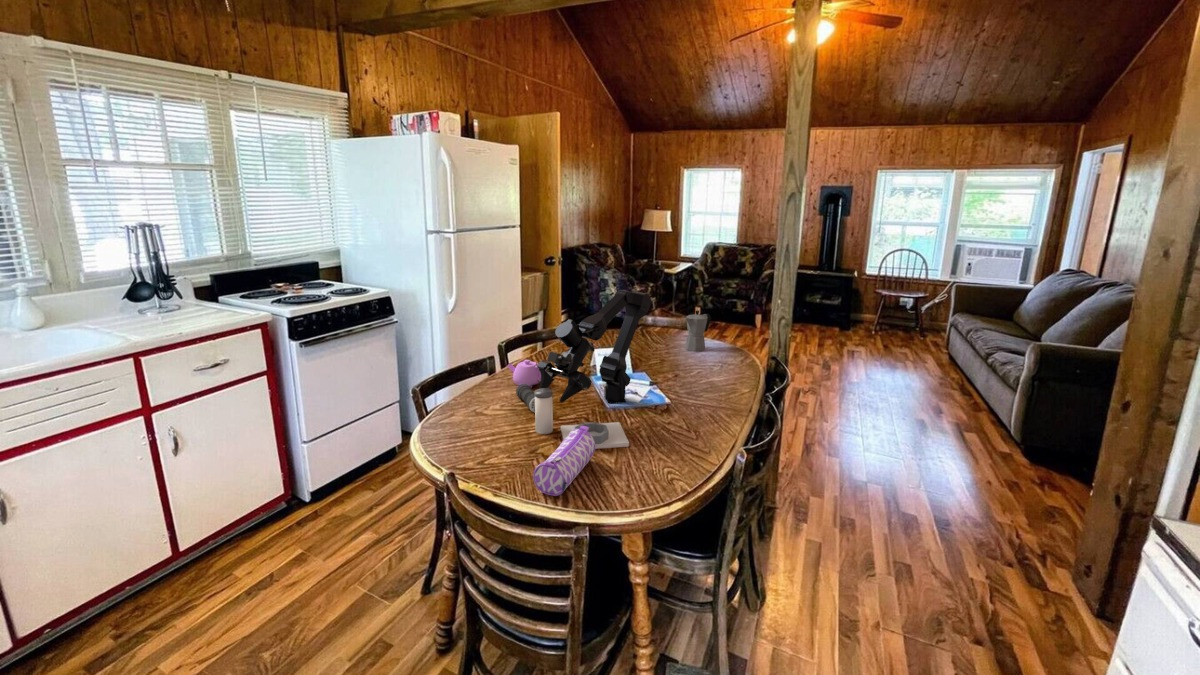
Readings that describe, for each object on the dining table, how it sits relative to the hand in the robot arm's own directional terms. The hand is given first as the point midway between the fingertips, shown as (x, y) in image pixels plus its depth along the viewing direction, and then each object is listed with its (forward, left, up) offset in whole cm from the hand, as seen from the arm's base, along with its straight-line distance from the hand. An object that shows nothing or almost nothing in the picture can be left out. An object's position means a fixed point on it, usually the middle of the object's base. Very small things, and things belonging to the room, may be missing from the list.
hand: (549, 398), depth 164 cm
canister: (+2, +2, -10) cm, 10 cm away
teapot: (+6, -39, -10) cm, 41 cm away
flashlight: (+5, -19, -10) cm, 22 cm away
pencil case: (-2, +29, -10) cm, 31 cm away
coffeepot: (-73, -75, -10) cm, 106 cm away
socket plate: (-12, +9, -10) cm, 18 cm away
